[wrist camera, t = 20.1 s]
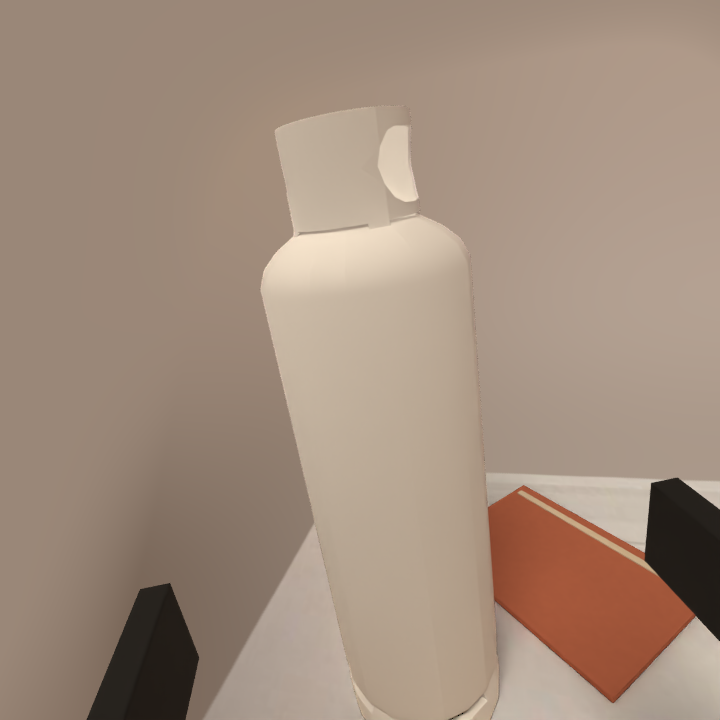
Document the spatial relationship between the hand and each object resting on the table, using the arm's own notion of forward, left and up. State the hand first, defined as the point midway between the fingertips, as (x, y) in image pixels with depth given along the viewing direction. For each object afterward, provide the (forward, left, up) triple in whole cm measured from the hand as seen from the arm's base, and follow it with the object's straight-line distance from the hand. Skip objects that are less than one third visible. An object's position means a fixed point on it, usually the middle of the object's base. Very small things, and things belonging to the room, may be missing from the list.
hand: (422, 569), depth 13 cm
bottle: (-7, +4, -16) cm, 18 cm away
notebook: (-7, +15, -16) cm, 23 cm away
